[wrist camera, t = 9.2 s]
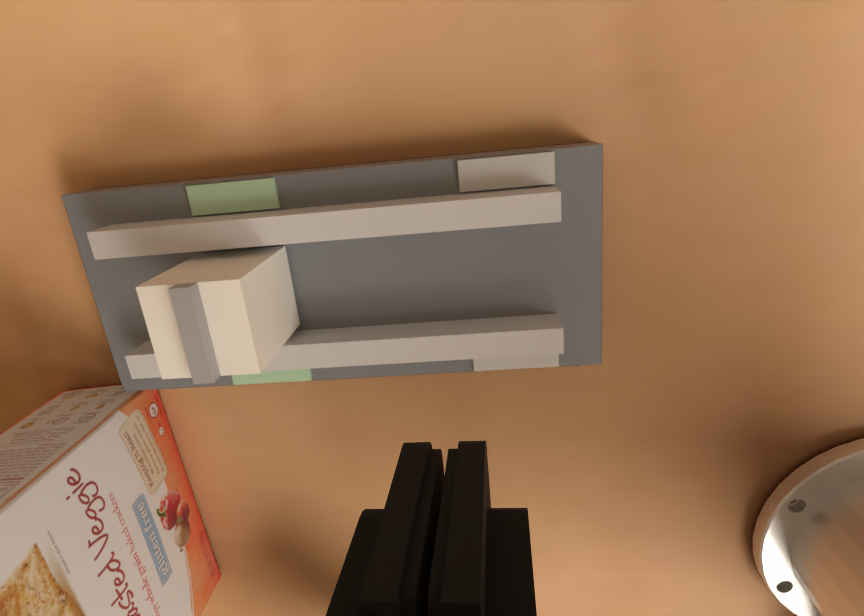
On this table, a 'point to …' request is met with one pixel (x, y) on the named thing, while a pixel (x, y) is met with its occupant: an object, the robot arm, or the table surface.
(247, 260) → the switch tab
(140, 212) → the switch panel
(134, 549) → the cracker box
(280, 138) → the table surface
